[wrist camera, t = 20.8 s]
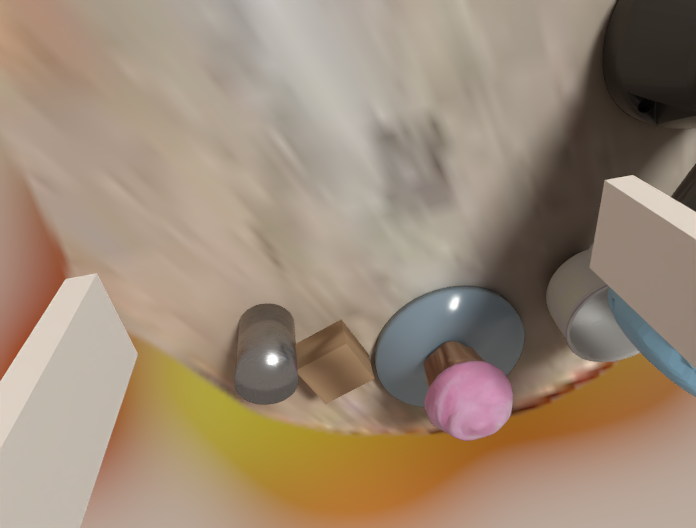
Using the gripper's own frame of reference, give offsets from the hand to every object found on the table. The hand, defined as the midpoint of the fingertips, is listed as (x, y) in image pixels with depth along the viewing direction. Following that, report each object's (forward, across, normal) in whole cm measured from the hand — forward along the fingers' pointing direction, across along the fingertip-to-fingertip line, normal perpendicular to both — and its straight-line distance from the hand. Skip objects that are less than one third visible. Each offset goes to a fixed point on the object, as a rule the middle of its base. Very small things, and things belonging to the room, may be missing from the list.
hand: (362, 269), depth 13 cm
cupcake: (+28, +11, -32) cm, 44 cm away
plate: (+29, +11, -32) cm, 44 cm away
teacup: (+29, +26, -24) cm, 46 cm away
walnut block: (+29, -2, -29) cm, 41 cm away
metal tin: (+29, -8, -24) cm, 38 cm away
